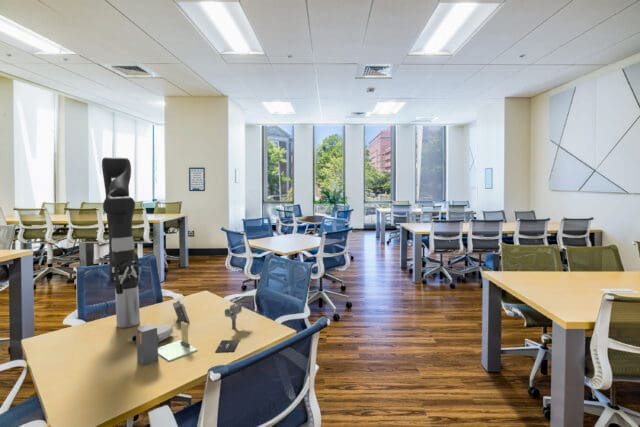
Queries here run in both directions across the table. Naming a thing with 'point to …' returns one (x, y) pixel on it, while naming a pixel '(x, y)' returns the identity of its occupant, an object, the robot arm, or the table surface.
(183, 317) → the electrical switch
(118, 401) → the table surface
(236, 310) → the mechanical component
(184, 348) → the board
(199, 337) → the table surface
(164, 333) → the robot toy
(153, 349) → the plug block
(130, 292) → the robot arm
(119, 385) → the table surface
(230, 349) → the solid state drive
